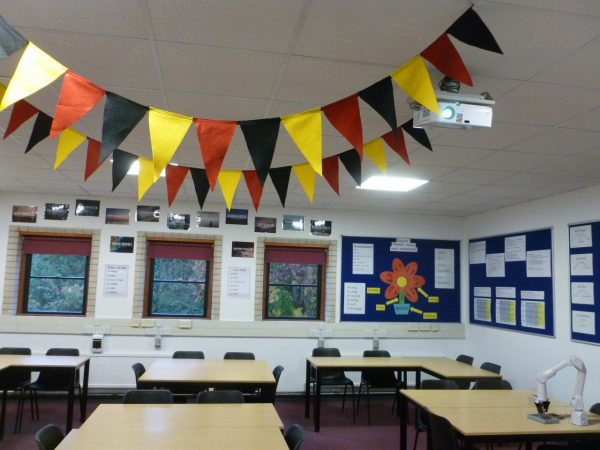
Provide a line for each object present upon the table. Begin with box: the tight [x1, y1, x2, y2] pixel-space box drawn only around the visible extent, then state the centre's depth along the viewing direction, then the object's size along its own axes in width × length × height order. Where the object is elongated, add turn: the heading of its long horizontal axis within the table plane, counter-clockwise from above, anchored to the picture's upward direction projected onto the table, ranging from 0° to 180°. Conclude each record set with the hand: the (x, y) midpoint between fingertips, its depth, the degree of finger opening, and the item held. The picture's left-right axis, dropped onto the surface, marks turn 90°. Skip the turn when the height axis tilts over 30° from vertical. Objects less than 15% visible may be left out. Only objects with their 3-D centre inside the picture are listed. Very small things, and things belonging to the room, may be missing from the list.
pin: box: [540, 408, 546, 420], centre depth 331 cm, size 4×4×7 cm
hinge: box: [526, 393, 549, 410], centre depth 370 cm, size 17×5×10 cm, turn 10°
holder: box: [545, 412, 565, 421], centre depth 337 cm, size 9×9×2 cm
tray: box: [526, 412, 560, 425], centre depth 330 cm, size 16×12×2 cm
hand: (542, 412), depth 331 cm, fingers open, 7 cm apart
